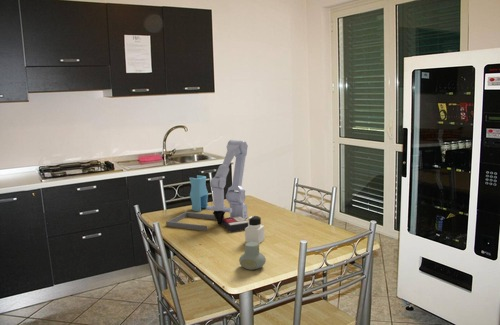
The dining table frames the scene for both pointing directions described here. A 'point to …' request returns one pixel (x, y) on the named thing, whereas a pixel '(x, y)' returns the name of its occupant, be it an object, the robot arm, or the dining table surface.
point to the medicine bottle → (254, 230)
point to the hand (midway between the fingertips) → (219, 224)
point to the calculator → (235, 223)
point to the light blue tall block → (198, 193)
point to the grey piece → (174, 223)
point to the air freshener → (252, 257)
